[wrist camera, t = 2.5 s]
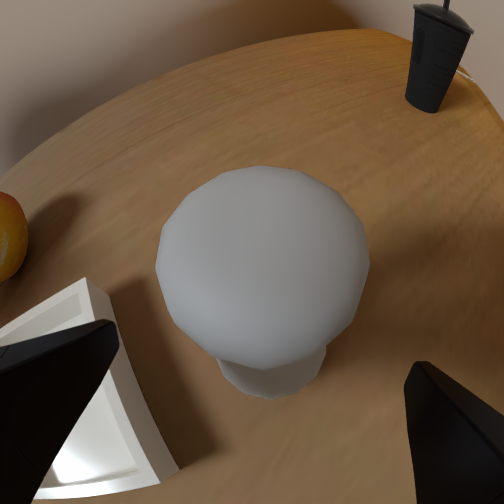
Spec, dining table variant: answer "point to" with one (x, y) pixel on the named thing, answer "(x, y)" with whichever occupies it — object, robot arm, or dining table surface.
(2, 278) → the fruit
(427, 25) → the drinking cup
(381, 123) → the dining table surface
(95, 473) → the dish
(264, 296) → the salt shaker
